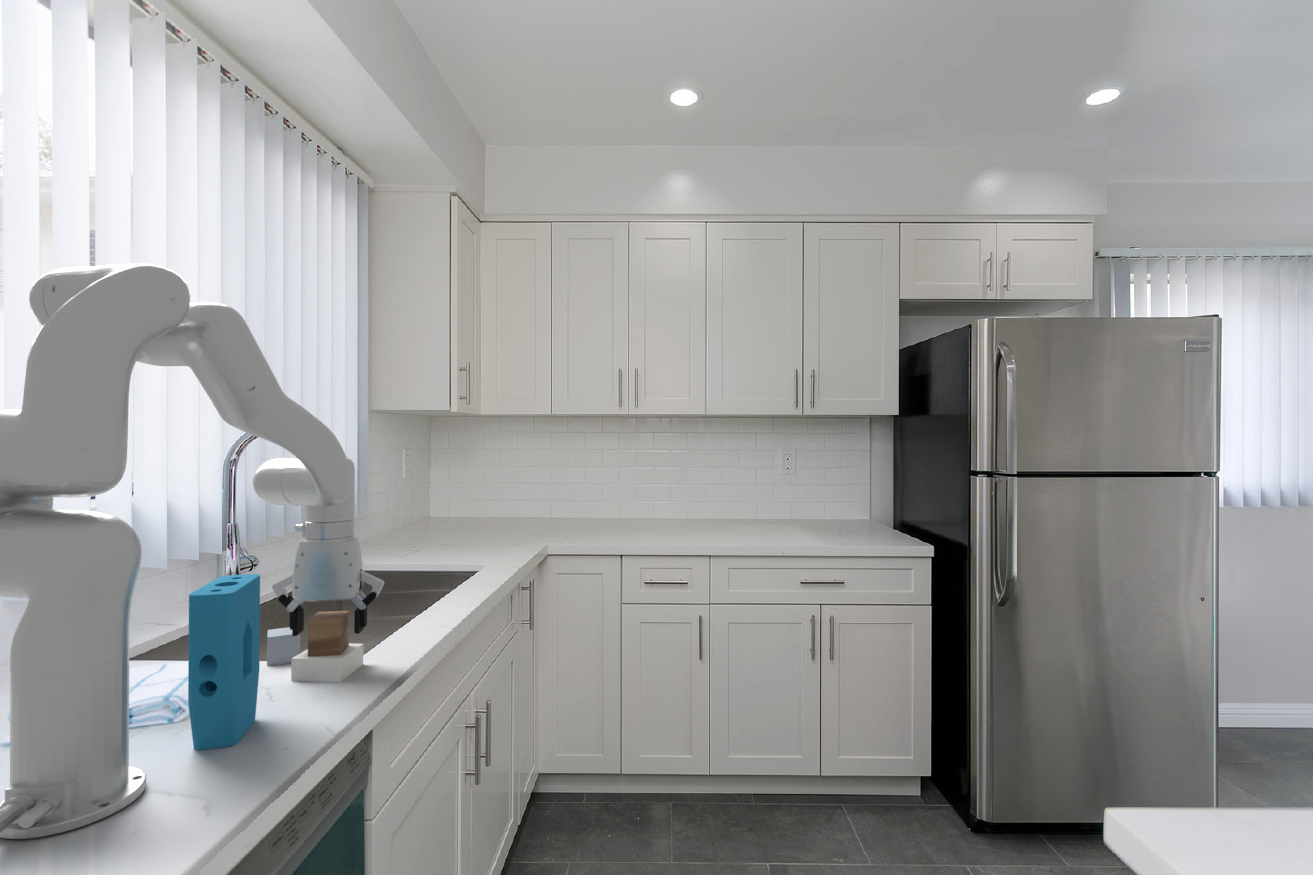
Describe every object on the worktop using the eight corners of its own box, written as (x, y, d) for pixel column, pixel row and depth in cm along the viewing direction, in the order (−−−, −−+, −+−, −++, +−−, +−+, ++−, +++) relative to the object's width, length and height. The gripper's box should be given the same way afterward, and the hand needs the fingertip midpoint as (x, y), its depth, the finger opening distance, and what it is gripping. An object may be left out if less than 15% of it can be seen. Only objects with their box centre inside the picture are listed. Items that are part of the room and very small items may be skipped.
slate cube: (300, 661, 115) (300, 633, 115) (266, 666, 113) (267, 637, 113) (299, 653, 120) (299, 625, 120) (267, 657, 117) (267, 629, 117)
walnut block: (340, 654, 108) (340, 618, 108) (307, 656, 107) (308, 619, 107) (348, 645, 113) (349, 610, 113) (317, 646, 112) (317, 611, 112)
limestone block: (340, 683, 106) (340, 659, 106) (291, 683, 106) (291, 658, 106) (363, 666, 114) (363, 643, 114) (317, 665, 114) (317, 642, 114)
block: (231, 752, 82) (232, 593, 82) (185, 757, 81) (186, 595, 81) (260, 713, 94) (261, 573, 94) (221, 716, 92) (222, 575, 92)
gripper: (264, 535, 105) (263, 641, 105) (378, 533, 108) (377, 637, 108) (283, 528, 112) (282, 628, 112) (389, 527, 115) (388, 624, 115)
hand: (328, 632), depth 110 cm, fingers open, 9 cm apart
